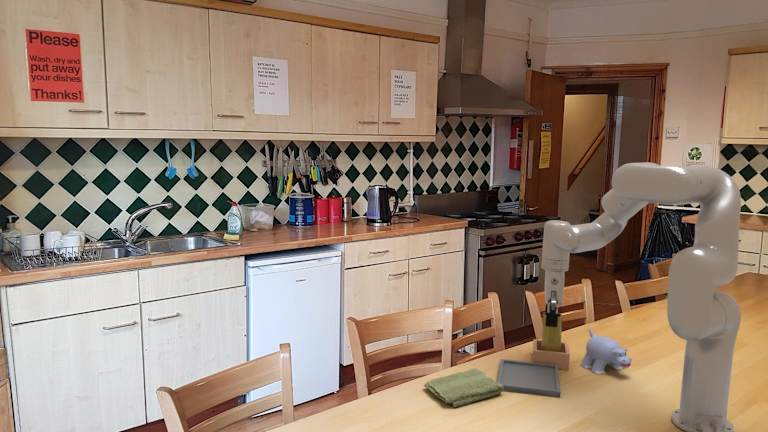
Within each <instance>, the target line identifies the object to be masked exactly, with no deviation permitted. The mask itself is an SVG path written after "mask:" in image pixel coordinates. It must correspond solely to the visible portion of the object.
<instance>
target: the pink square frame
mask: <svg viewBox="0 0 768 432" xmlns="http://www.w3.org/2000/svg"><path fill="white" fill-rule="evenodd" d="M541 342H542V339H539V338H538V339H535V338H534V339H533V341H532V362H536V363H545V364H555V365H558V368H559V370H560V369H561V370H568V371H569V370H570V346H569V342H567V341H561V352H552V351H542V350H541Z"/></svg>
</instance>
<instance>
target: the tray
mask: <svg viewBox="0 0 768 432" xmlns="http://www.w3.org/2000/svg"><path fill="white" fill-rule="evenodd" d="M496 379H497V380H496V381H497V382H498V383H500V384H502V385H503V386H504V390H503V391H502V392H513V393H519V394H520V393H521V394H529V395H537V396H544V397H546V396H547V397H554V398H561V396H562V395H561V393H562V390H561V379H560V369H559V368H558V365H555V364H545V363H536V362H533V361H527V360H516V359H506V358H500V360H499V366H498V373H497V378H496Z"/></svg>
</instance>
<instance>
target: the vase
mask: <svg viewBox="0 0 768 432" xmlns="http://www.w3.org/2000/svg"><path fill="white" fill-rule="evenodd" d="M542 318H543V319H542V331H541V340H542V342H541V350H542V351H552V352H561V342H562V328H563V327H562V326H563V324H562V323H563V314H562V313H559V312H558V324H557V327H548V326H546V312H545V311H544V312H543V316H542Z"/></svg>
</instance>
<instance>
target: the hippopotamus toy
mask: <svg viewBox="0 0 768 432" xmlns="http://www.w3.org/2000/svg"><path fill="white" fill-rule="evenodd" d="M587 331H589V335H590V338H589V340H588V341H587V342H586V347H585V350H586V353H585V354H584V356H583V358H582V361H581V363H580V367H582V368H584V369H587V370H589V369H590V371H591V373H595V374H596V375H600V374H601V375H602V374H604V373H606V370H605V367H606V366H607V365H610V367H611V368H612V369H614V370H617V371H618V370H619V371H621V370H623V369H629V368H630V367H631V364H632V363H633V362H632V358H631V357H630V356H628V353H627V352H628V348H627V347H624V348H623V347H622V346H621V345H620V343H618V341H616V340H614V339H613V338H610V337H608V336H601V335H600V336H598V335H595V333H594V332H593V330H591V329H587Z"/></svg>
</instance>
